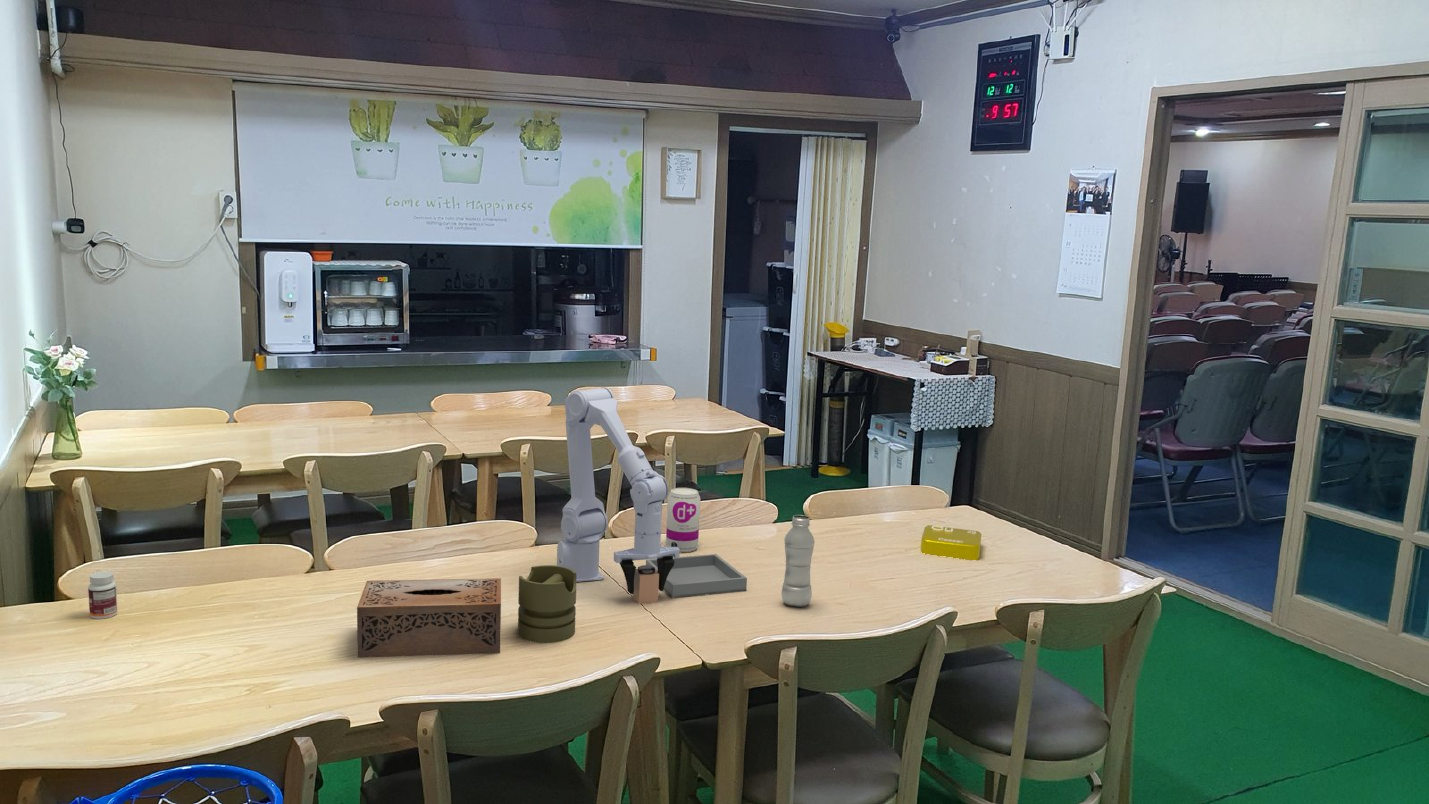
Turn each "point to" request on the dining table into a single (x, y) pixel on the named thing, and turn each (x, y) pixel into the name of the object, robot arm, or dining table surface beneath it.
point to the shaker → (646, 584)
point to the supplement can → (683, 519)
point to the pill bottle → (102, 595)
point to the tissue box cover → (429, 617)
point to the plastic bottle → (798, 563)
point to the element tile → (951, 542)
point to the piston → (547, 604)
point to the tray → (701, 576)
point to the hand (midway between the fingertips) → (645, 590)
